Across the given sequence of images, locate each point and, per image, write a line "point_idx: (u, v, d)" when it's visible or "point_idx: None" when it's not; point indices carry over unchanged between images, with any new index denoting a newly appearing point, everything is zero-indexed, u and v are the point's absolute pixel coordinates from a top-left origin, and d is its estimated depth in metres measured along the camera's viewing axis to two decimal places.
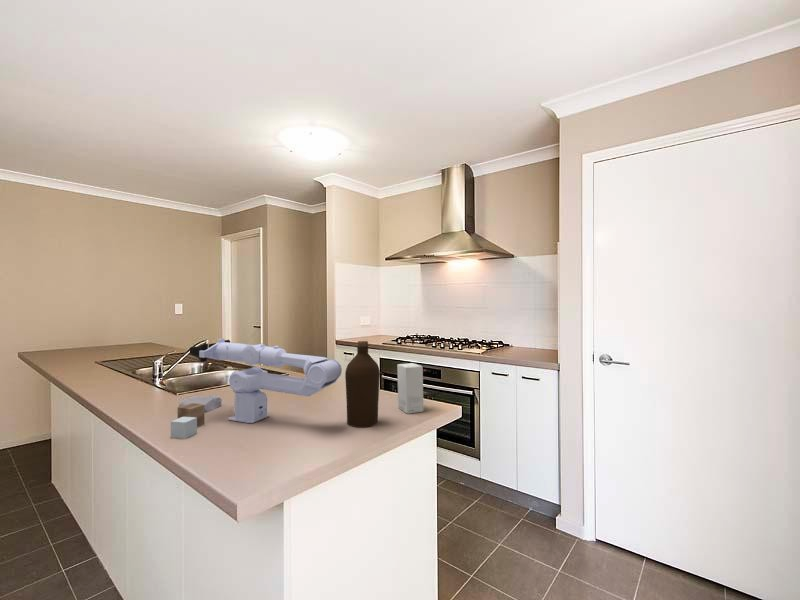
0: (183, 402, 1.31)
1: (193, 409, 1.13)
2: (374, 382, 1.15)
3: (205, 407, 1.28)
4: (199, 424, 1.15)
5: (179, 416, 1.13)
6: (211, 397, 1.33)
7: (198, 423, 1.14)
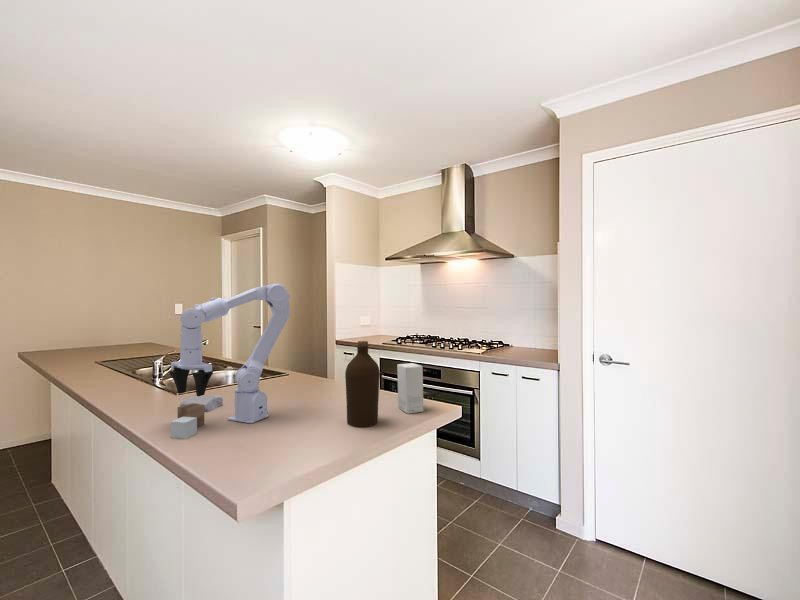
0: (184, 402, 1.31)
1: (193, 409, 1.13)
2: (374, 382, 1.15)
3: (206, 407, 1.29)
4: (199, 424, 1.15)
5: (179, 416, 1.13)
6: (212, 397, 1.34)
7: (198, 423, 1.14)
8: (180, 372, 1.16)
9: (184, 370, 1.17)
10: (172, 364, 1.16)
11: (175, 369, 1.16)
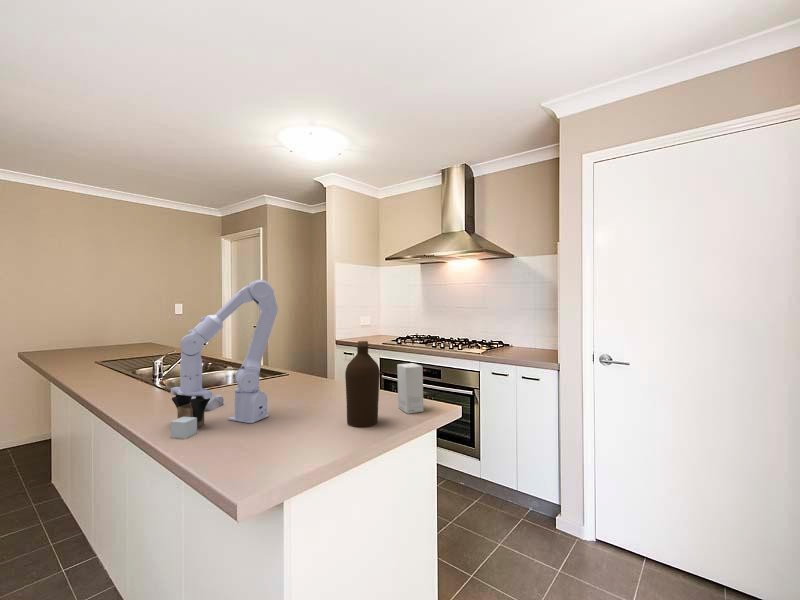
0: None
1: None
2: (374, 382, 1.15)
3: (207, 406, 1.30)
4: (199, 424, 1.15)
5: (179, 416, 1.13)
6: (213, 396, 1.34)
7: (198, 423, 1.14)
8: (182, 398, 1.15)
9: (186, 396, 1.16)
10: (172, 390, 1.16)
11: (177, 395, 1.15)
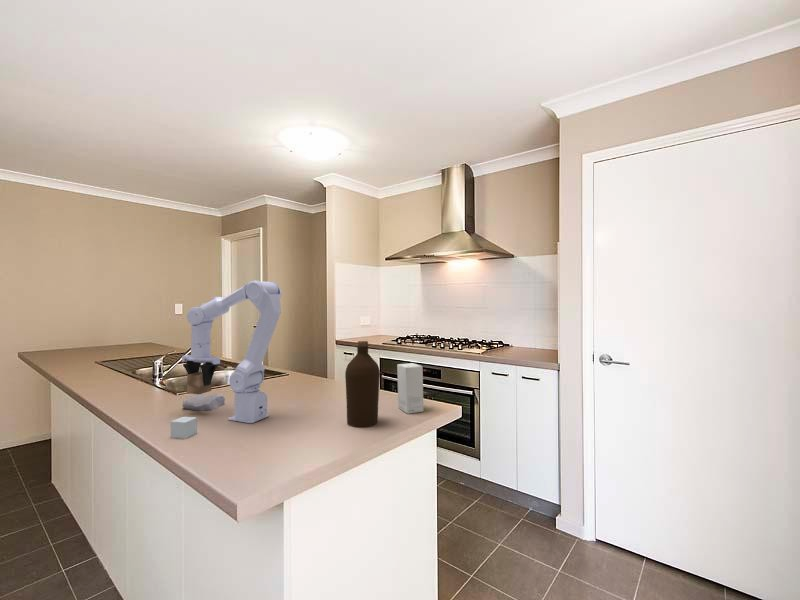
0: (187, 401, 1.33)
1: (202, 376, 1.25)
2: (374, 382, 1.15)
3: (209, 405, 1.30)
4: (207, 390, 1.27)
5: (188, 383, 1.25)
6: (214, 396, 1.35)
7: (206, 389, 1.26)
8: (193, 365, 1.28)
9: (196, 363, 1.29)
10: (183, 357, 1.29)
11: (188, 362, 1.28)
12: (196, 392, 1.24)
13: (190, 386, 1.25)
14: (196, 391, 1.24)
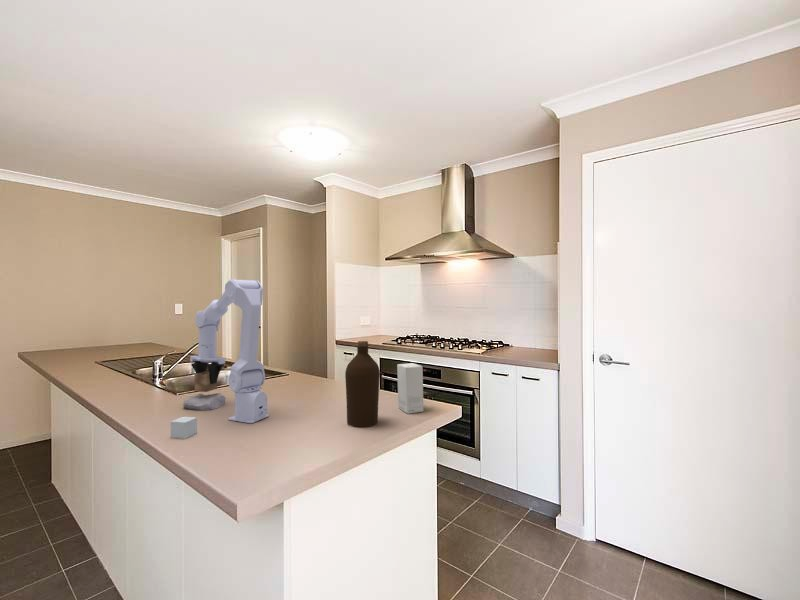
0: (188, 400, 1.33)
1: (208, 375, 1.34)
2: (374, 382, 1.15)
3: (210, 405, 1.31)
4: (213, 388, 1.36)
5: (196, 381, 1.35)
6: (215, 395, 1.35)
7: (212, 387, 1.36)
8: (200, 364, 1.38)
9: (203, 363, 1.39)
10: (191, 357, 1.39)
11: (196, 362, 1.38)
12: (203, 390, 1.34)
13: (197, 384, 1.35)
14: (203, 389, 1.34)
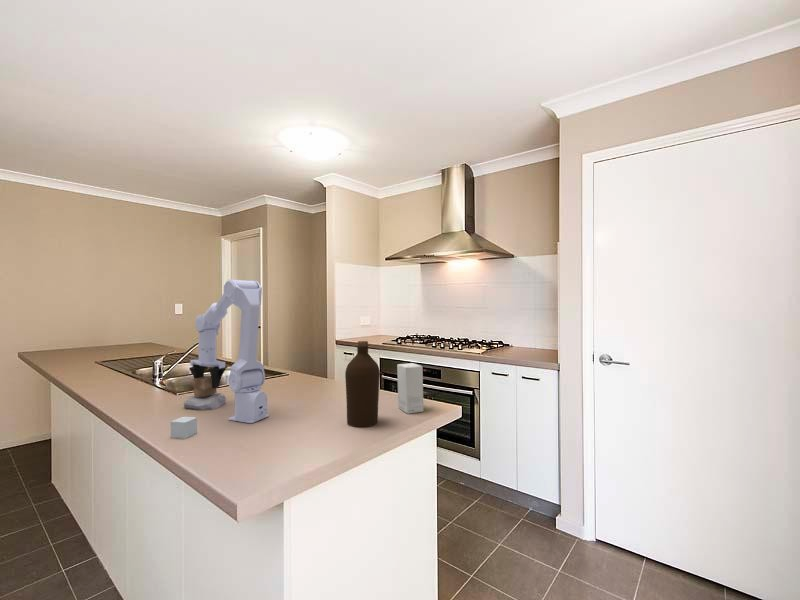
0: (188, 400, 1.33)
1: (206, 379, 1.34)
2: (374, 382, 1.15)
3: (210, 405, 1.31)
4: (212, 392, 1.36)
5: (195, 386, 1.35)
6: (216, 395, 1.36)
7: (211, 391, 1.36)
8: (198, 368, 1.38)
9: (201, 367, 1.39)
10: (191, 362, 1.39)
11: (194, 366, 1.38)
12: (202, 394, 1.34)
13: (196, 389, 1.35)
14: (202, 393, 1.34)
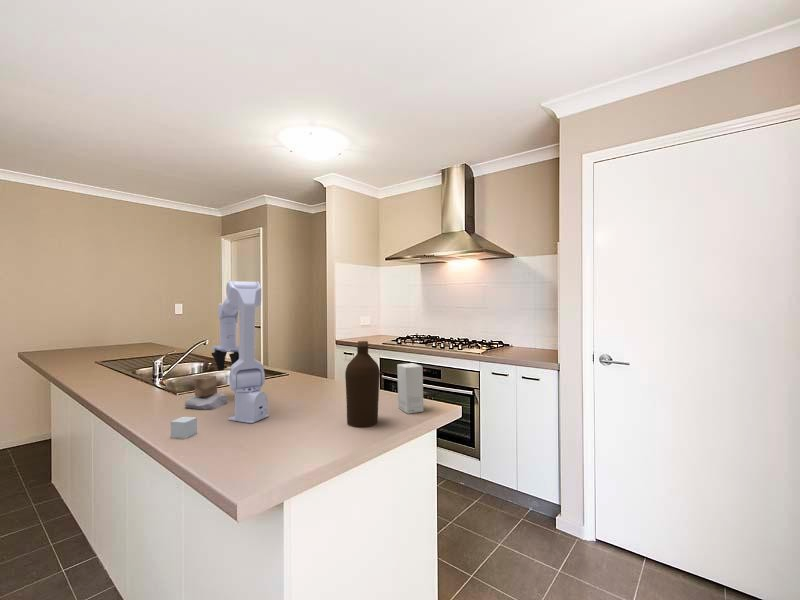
0: (189, 400, 1.34)
1: (207, 379, 1.35)
2: (374, 382, 1.15)
3: (212, 405, 1.32)
4: (213, 392, 1.37)
5: (196, 386, 1.35)
6: (217, 395, 1.36)
7: (212, 391, 1.37)
8: (219, 353, 1.47)
9: (222, 352, 1.48)
10: (213, 347, 1.48)
11: (216, 351, 1.47)
12: (203, 394, 1.34)
13: (197, 389, 1.35)
14: (203, 393, 1.34)
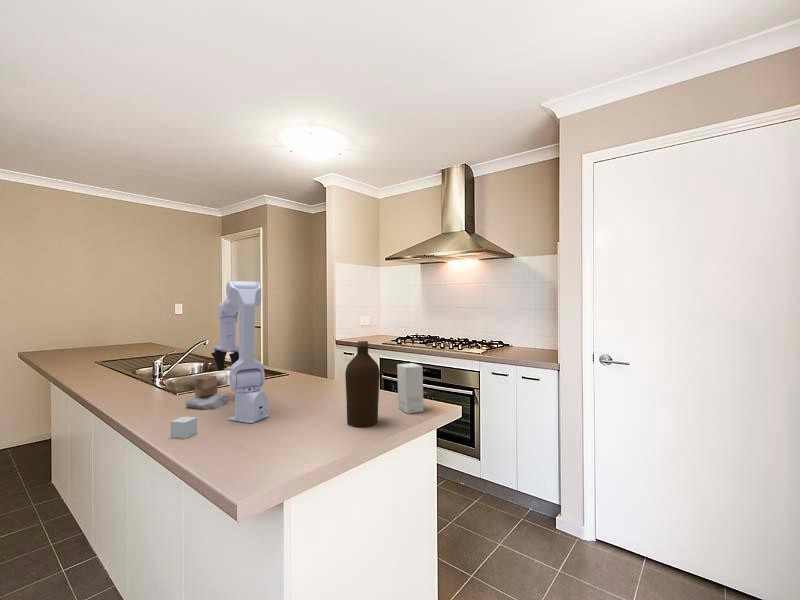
0: (190, 400, 1.34)
1: (207, 379, 1.35)
2: (374, 382, 1.15)
3: (213, 404, 1.32)
4: (213, 392, 1.37)
5: (196, 386, 1.35)
6: (218, 395, 1.37)
7: (212, 391, 1.37)
8: (219, 353, 1.47)
9: (222, 352, 1.48)
10: (213, 347, 1.48)
11: (216, 351, 1.47)
12: (203, 394, 1.34)
13: (197, 389, 1.35)
14: (203, 393, 1.35)
